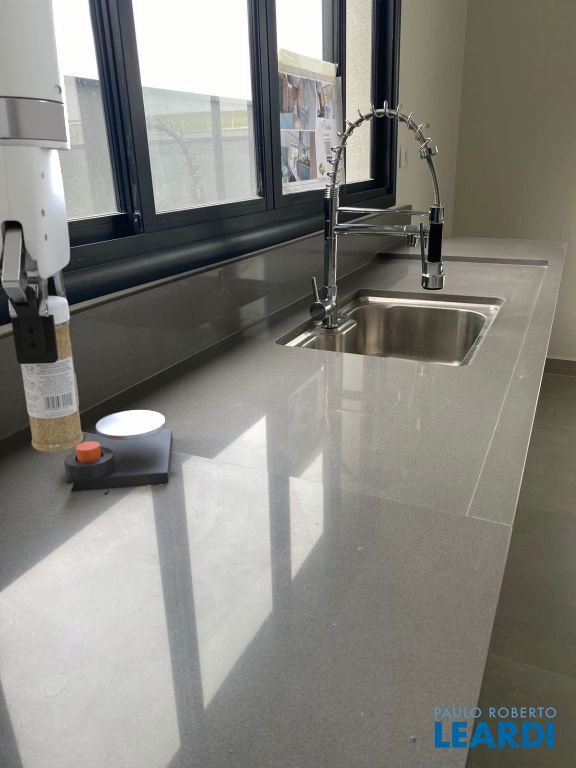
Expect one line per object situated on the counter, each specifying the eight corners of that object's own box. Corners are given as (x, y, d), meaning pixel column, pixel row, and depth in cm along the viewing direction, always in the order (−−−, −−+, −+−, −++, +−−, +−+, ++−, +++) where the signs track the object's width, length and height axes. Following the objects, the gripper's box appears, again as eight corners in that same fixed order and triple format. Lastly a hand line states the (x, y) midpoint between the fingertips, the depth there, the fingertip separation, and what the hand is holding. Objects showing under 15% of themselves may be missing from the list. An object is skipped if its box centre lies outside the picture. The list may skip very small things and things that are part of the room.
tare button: (75, 464, 73) (73, 451, 73) (79, 454, 76) (78, 441, 75) (99, 462, 74) (97, 449, 73) (102, 453, 76) (101, 440, 76)
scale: (64, 494, 73) (60, 468, 71) (84, 445, 86) (81, 422, 85) (168, 486, 74) (166, 460, 73) (172, 439, 88) (171, 417, 87)
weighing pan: (91, 449, 76) (90, 437, 76) (102, 422, 85) (101, 412, 84) (164, 444, 78) (163, 432, 77) (167, 418, 86) (166, 408, 86)
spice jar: (82, 431, 59) (67, 293, 54) (84, 449, 55) (67, 302, 50) (31, 437, 57) (11, 296, 53) (29, 457, 53) (8, 305, 49)
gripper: (0, 136, 55) (27, 332, 60) (-81, 118, 39) (-34, 386, 45) (86, 137, 56) (104, 330, 61) (41, 120, 40) (71, 382, 46)
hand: (45, 351), depth 53 cm, fingers closed on spice jar, 4 cm apart
